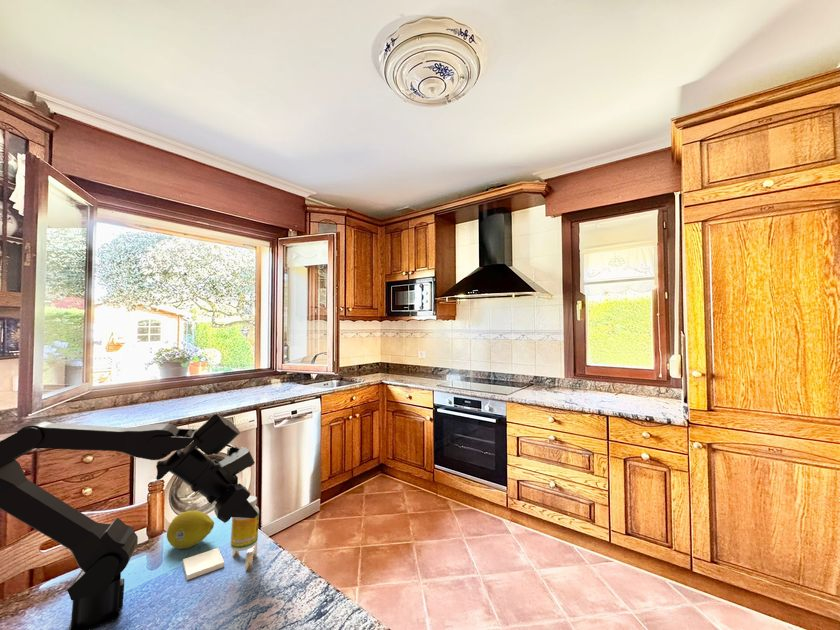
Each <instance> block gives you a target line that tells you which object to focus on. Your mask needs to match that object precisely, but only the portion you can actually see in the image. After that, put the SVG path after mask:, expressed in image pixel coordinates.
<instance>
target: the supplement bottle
mask: <svg viewBox="0 0 840 630" xmlns="http://www.w3.org/2000/svg"><path fill="white" fill-rule="evenodd" d="M247 500H248V502H249V503H250V504H251V505H252V507H253V508H254V509H255V510H256V512H257V513H258V515H257V516H256V517H255V518H240V517H231V530H230V531H231V532H230V548H231V550H232V551H233V550H236V551H239V552H241V551H248V549H249V548H251V547H253V546H254V545H255V544H256V543H257V544H258V540H259V539H258V537H259V522H260V521H259V519H260V509H259V506H257V503H258V501H257V500H258V498H257V496H254V495H250V496H249V498H248V499H247Z"/></svg>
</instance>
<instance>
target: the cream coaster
mask: <svg viewBox="0 0 840 630" xmlns="http://www.w3.org/2000/svg"><path fill="white" fill-rule="evenodd" d="M182 565H183V571H184V575H185V579H186V581H189V580H191V579H194V578H197V577H199V576H202V575H206V574H208V573H210V572H213V571H216V570H219V569H222V568H224V567H225V561H224V558H223V556H222V554H221V551H220V548H219V547H216V548H214V549H210V550H208V551H205V552H201V553H198V554H195V555H192V556H190V557H187V558H183V559H182Z"/></svg>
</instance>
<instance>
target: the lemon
mask: <svg viewBox="0 0 840 630" xmlns="http://www.w3.org/2000/svg"><path fill="white" fill-rule="evenodd" d="M214 526H215V522H214V520H213V519H212V518H211V517H210V516H209V515H208V514H207V513H205V512H204V511H199V510H188V511H183V512H181V513H179V514H178V515H176V516H175V517H174V518H173V519H172V521H171V522H170V523H169V525H168V527H167V532H166V539H167V542H168V543H169V544H170V545H171V546H172V547H173V548H174V549H181V550H183V549H189V548H192V547H193V546H196V545H198V544H200V543H201V542H203V540H204V539H205V538H206V537H207V536H208V535H209V534H210V533H211V531H212V530H213V529H214Z"/></svg>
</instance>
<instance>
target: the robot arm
mask: <svg viewBox="0 0 840 630" xmlns="http://www.w3.org/2000/svg"><path fill="white" fill-rule="evenodd" d="M240 434H241V431H240V430H239V428H238V427H236V425H235V424H234V423H233V422H232V421H231V420H229V419H227V418H226V417H224V416H222V415H220V414H219V413H218V412H214V413H213V414H212V415H211V416H210V417H209V419H208V420H207V421H206V422H204V423H203V424H202V425H201V426H199V428H197V429H193V428H179V427H177V425H176V424H173V423H168V422H166V423H153V424H144V425H139V426H131V427H122V426H121V427H119V426H103V425H86V424H69V423H56V422H55V423H54V422H49V421H46V420H45V421H37V422H35V423H32V424H29V425H26V426H24V427H21V428H20V429H19V430H17V431H16V432H15V433H13V434H11V435H10V436H8V437H6V438H4V439H2V440H0V510H1V511H3V512H5V513H6V514H9V515H10V516H12V517H13V518H15V519H17V520H18V521H20V522H22V523H24V524H25V525H27V526H29V528H32V529H34V530H35V531H37V532H38V533H41V534H43V535H44V536H46V537H48V538H49V539H51V540H52V541H54V542H57V543H58V544H60V545H61V546H63V547H65V548H66V549H68V550H69V551H70V552H71V554H72V555H73V558H74V559H75V562H76V564H77V566H78V567H79V569H80V572H79V573H78V575H77V576H76V578H75V579H74V580H73V582H72V583H71V584H70V586H69V587H68V589H67V593H68V595H69V598H70V600H71V601H72V605H71V606H72V608H71V616H70V617H71V619H70V625H69V630H94V629H96V628H98V627H101V626H103V625H104V626H105V625H106V624H108V623H111V622H114V621H116V620H118V619H119V618H120V610H122V609H123V607H124V596H125V578H121V577H122V572H123V571H124V570H125V569H126V568H127V566H128V563H129V562H130V561H131V558H132V557H133V555H134V552H135V551H136V548H137V547H138V541H139V538H138V535H137V533H136V532H135V531H134V530H135V529H136V527H135V526H129V525H127V524H126V523H125V522H124V521H122V519H120V518H119V517H116V518H114V520H113V521H112V522H110V523H101V522H97V521H95V520H94V519H93V518H90V517H89V516H87V515H86V514H84V513H82V512H81V511H79V510H77V508H74V507H73V506H71V505H69V504H68V503H66V502H64V501H63V500H61V499H60V498H58V497H57V496H55V495H53V494H52V493H50V492H49V491H47V490H46V489H44V488H42V487H40V486H39V485H38V484H36V483H34V482H33V481H31V480H30V479H28V478H27V477H26V475H25V473H24V470H23V469H22V467H21V464H20V462H19V461H18V460H17V459H19V458H21V457H23V456H24V455H25V454H27V453H29V452H30V451H33V450H34V449H45V450H46V449H47V450H48V449H50V450H52V449H53V450H76V451H77V450H79V451H103V452H104V451H106V452H118V453H123V454H126V455H128V456H131V457H134V458H139V459H144V460H148V461H157V462H156V466H155V467H156V471H157V472H156V478H155V479H156V481H160V480H162V479H163V478H164V477H165V476H166V475H167V474H168V473H171V474H172V475H173V476H175V477H176V478H178V479H179V480H180V481H182V482H183V483H184V484H185V485H188V486H189V487H190V489H191V491H192V492H193V493H195V494H196V493H199V494H200V495H202V497H205V498H206V500H207V501H206V502H208V503H209V504H210V505H212V504H213V503H214V502H216V503H214V514H215V516H216V518H217V519H218V520H220V521H221V522H223V523H224V524H226V523H228V522H229V521H230V519H232V517H240V518H255V517H256V516H257V515H258V513H257V512H256V510H255V509H254V508H253V507H252V505H251V504H250V503H249V502H248V500H247V499H248V498H249V496H251V492H250V491H249V490H248V488H247V487H246V486H245V485H243V484H241V483H239V481H238V480H239V478H238V475H237V474H240V473H241V472H243V471H245V470H246V469H248V468H250V467H252V466H253V465H254V464H255V460H254V458H253V456H252V454H251V452H250V449H248V447H247V446H246V447H244V446H241V447H240V448H239V447H237V446H236V445H232V446H230V447H229V448H227V449H226V456H224V458H223V459H222V460H220V461H218V459H211V458H210V457H209V456H212V455H214V454H215V455H218V454H220V452H222V451H223V450H224V449H225V448H226V447H227V446H228V445H229V444H230V443H231V442H232V441H234V439H236V438H237V437H238V436H239V435H240ZM172 452H173V453H172ZM171 453H172V454H171ZM170 454H171V455H170ZM169 455H170V456H169ZM167 456H169V457H168V458H166V457H167ZM164 458H166V459H164ZM162 459H164V460H162Z"/></svg>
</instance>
